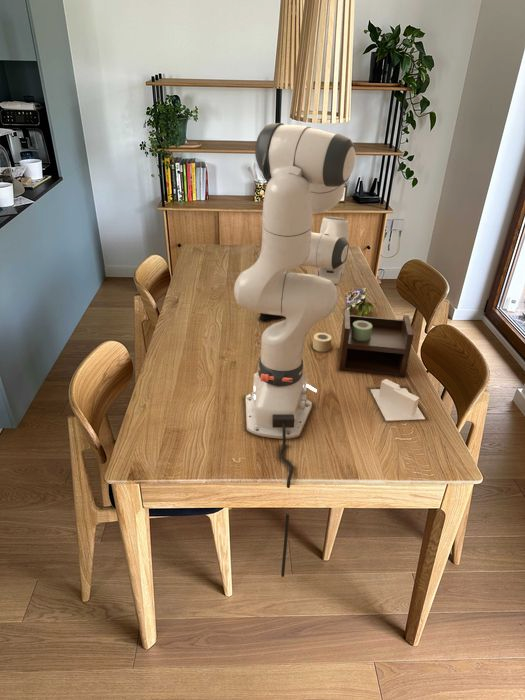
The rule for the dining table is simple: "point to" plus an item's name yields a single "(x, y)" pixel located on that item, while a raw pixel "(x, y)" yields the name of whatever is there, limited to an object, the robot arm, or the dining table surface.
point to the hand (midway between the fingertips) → (325, 309)
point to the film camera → (269, 317)
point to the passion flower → (358, 301)
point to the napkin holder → (396, 402)
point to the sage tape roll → (361, 330)
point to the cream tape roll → (322, 342)
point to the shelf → (376, 346)
